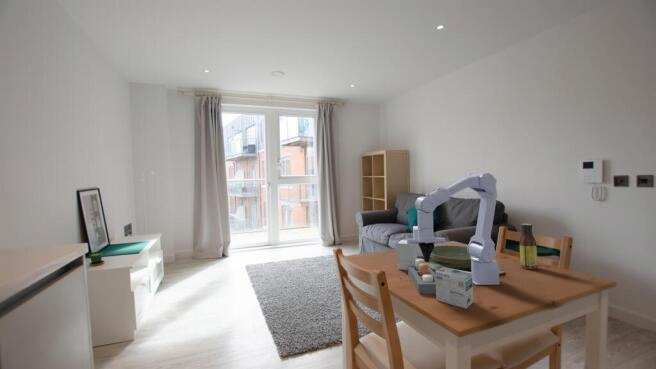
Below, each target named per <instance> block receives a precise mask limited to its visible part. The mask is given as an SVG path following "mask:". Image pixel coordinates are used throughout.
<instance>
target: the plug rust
mask: <svg viewBox="0 0 656 369" xmlns="http://www.w3.org/2000/svg"><path fill="white" fill-rule="evenodd" d="M429 267H430V266H429V263H420V264H419V276H423V275H426V274H428V275H429Z"/></svg>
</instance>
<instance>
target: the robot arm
mask: <svg viewBox="0 0 656 369" xmlns="http://www.w3.org/2000/svg"><path fill="white" fill-rule="evenodd" d="M496 186H497V178H495V176H494V175H493V174H491V173H489V172H484V173H483V172H481V173H479V172H477V173H476V172H472V173H469V174H467V175H464V176H463V177H462V178H460V179H458V180H457V181H455V182H454V183H452V184H450V185H448V186H447V187H443V186H442V187H440V186H438V187H435V190H433V191H431V192H430V193H425V196H418V197H417V199H416V200H415V201H414V202H415V203H414V204H413V205H414V208H415V209H416V212H417V226H418V238H411V237H409V238H406V240H407V244H408V245H410V244H418V245H419V247H420V249H421V251H422V254H423V257H422V258H423V259H424V261H425V263H426V264H429V263H430V259H431V257H430V256H431V253H432V254H433V251H434V248H435V244H447V243H446V242H447V240H446V238H445V237H438V236H437V237H436V236H435V237H434V211H435V210H436V208H437V207H438V206H440V205H442V204H444V203H446V202H448V201H450V200H451V196H452V195H455V194H456V193H458V192H461V191H463V190H465V189H467V188H470V189H472V190H473V191H474V192H476V193H477V194H478V195H479V196H480V202H479V208H478V215H477V222H476V227H475V228H476V229H475V234H474V235H473V236H471V237H470V239H469V243H468V244H467V246H466V250H467V254H468V255H469V257H470V261H471V262H470V264H471V267H470V268H471V269H470V270H471V271H470V272H472V277H473V284H474V285H476V286H483V285H484V286H486V285H490V286H492V285H501V283H500V267H499V263H498V262H497V260H496V259H495V258H496V249H495V246H496V243H494V240H493V239H492V236H491V235H492V229H493V225H494V224H493V223H494V218H495V211H496V204H497V198H498V190H497V187H496Z"/></svg>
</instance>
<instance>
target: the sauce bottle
mask: <svg viewBox="0 0 656 369" xmlns="http://www.w3.org/2000/svg"><path fill="white" fill-rule="evenodd" d="M520 228H521V235H520V237H519V254H520V255H519V256H520V265H521V266H520V267H521V268H522V269H526V270H537V269H538V252H537V242H536V238H535V237H534V235H533V224H532V223H521V227H520Z"/></svg>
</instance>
